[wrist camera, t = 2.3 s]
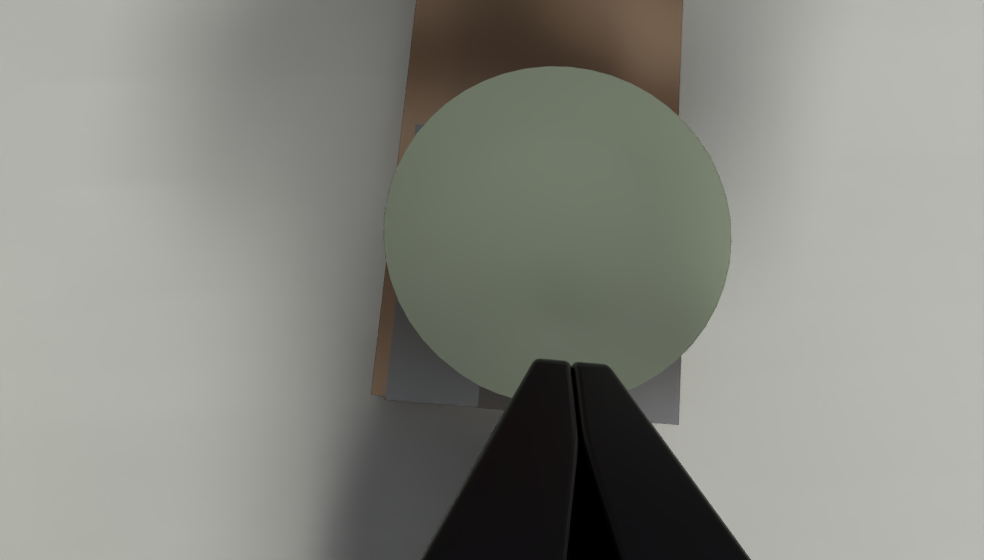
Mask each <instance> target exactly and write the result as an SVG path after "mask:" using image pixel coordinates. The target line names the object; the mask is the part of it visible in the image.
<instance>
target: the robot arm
mask: <svg viewBox="0 0 984 560" xmlns="http://www.w3.org/2000/svg"><path fill="white" fill-rule="evenodd" d="M420 560H751V559H750V558H749V556H748V555H747V554H746V552H745V551H744V550H743V548H742V547H741V545H740V544H739V543H738V541H737V540H736V539H735V537H734V536H733V534H732V533H731V532H730V530H729V529H728V528H727V526H726V525H725V523H724V522H723V521H722V519H721V518H720V517H719V515H718V514H717V513H716V511H715V510H714V508H713V507H712V506H711V504H710V503H709V502H708V500H707V499H706V497H705V496H704V495H703V493H702V492H701V491H700V489H699V488H698V486H697V485H696V484H695V482H694V481H693V480H692V478H691V477H690V476H689V474H688V473H687V471H686V470H685V469H684V467H683V466H682V465H681V463H680V462H679V460H678V459H677V458H676V456H675V455H674V454H673V452H672V451H671V449H670V448H669V447H668V445H667V444H666V443H665V441H664V440H663V438H662V437H661V436H660V434H659V433H658V432H657V430H656V429H655V428H654V426H653V425H652V423H651V422H650V421H649V419H648V418H647V417H646V415H645V414H644V412H643V411H642V410H641V408H640V407H639V406H638V404H637V403H636V401H635V400H634V399H633V397H632V396H631V395H630V393H629V392H628V391H627V389H626V388H625V386H624V385H623V384H622V382H621V381H620V380H619V378H618V377H617V375H616V374H615V373H614V371H613V370H612V369H611V368H610V367H609V366H608V365H605V364H599V363H587V362H575V363H573V365H572V366H571V365H570V364H569V362H567V361H564V360H553V359H541V358H539V359H536V360H534V361H533V362H532V364H531V365H530V367H529V369H528V371H527V373H526V374H525V376H524V378H523V380H522V381H521V383H520V385H519V387H518V388H517V390H516V392H515V394H514V395H513V397H512V399H511V401H510V402H509V404H508V406H507V408H506V409H505V411H504V413H503V415H502V416H501V418H500V420H499V422H498V424H497V425H496V427H495V429H494V431H493V432H492V434H491V436H490V438H489V439H488V441H487V443H486V445H485V446H484V448H483V450H482V452H481V453H480V455H479V457H478V459H477V460H476V462H475V464H474V466H473V468H472V469H471V471H470V473H469V475H468V476H467V478H466V480H465V482H464V483H463V485H462V487H461V489H460V490H459V492H458V494H457V496H456V497H455V499H454V501H453V503H452V504H451V506H450V508H449V510H448V511H447V513H446V515H445V517H444V519H443V520H442V522H441V524H440V526H439V527H438V529H437V531H436V533H435V534H434V536H433V538H432V540H431V541H430V543H429V545H428V547H427V548H426V550H425V552H424V554H423V555H422V557H421V559H420Z"/></svg>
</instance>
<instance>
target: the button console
mask: <svg viewBox="0 0 984 560" xmlns="http://www.w3.org/2000/svg"><path fill="white" fill-rule="evenodd" d="M682 10H683V0H416V8H415V16H414V25H413V34H412V42H411V51H410V60H409V69H408V77H407V86H406V95H405V103H404V112H403V121H402V129H401V138H400V147H399V156H398V164H397V167H398V165H399V163H400V161H401V159H402V157H403V155H404V152H405V151H406V149H407V148H408V146H409V145H410V143H411V142H412V140H413V139H414V137H415V136H416V134H417V133H418V132H419V130H420V129H421V128H422V127H423V126H424V125H425V123H426V122H427V121H428V120H429V119H430V118H431V117H432V116H433V115H434V114H435V113H436V112H437V111H438V110H440V109H441V108H442V107H443V106H444V105H445V104H446V103H448V102H449V101H450V100H452V99H453V98H455V97H456V96H458V95H459V94H461V93H462V92H464V91H465V90H467V89H469V88H471V87H473V86H475V85H477V84H479V83H481V82H483V81H485V80H488V79H490V78H493V77H496V76H499V75H501V74H504V73H508V72H513V71H517V70H521V69H526V68H536V67H546V66H555V67H574V68H581V69H588V70H593V71H597V72H600V73H604V74H608V75H612V76H614V77H617V78H619V79H622V80H624V81H627V82H629V83H631V84H633V85H635V86H637V87H639V88H641V89H642V90H644V91H646V92H648V93H650V94H651V95H653V96H654V97H655V98H657V99H658V100H660V101H661V102H662V103H664V104H665V105H667V106H668V107H669V108H670V109H671V110H672V111H673V112H674V113H676V114H677V115H678V116H679V89H680V63H681V36H682ZM680 374H681V356H680V357H679V358H678V359H677V360H676V361H675V362H674V363H673V364H671V365H670V366H669V367H667V368H666V369H665V370H663V371H662V372H661V373H660V374H658V375H657V376H655V377H653V378H652V379H650V380H648V381H646V382H645V383H643V384H641V385H639V386H638V387H635V388H633V389H630V390H628V392H629V393H630V395H631V396H632V397H633V399H634V400H635V401H636V403H637V404H638V406H639V407H640V408H641V410H642V411H643V412H644V414H645V415H646V417H647V418H648V419H649V421H650V422H651V423H662V424H673V425H679V403H680ZM371 395H380V396H385V400H395V401H407V402H418V403H430V404H442V405H453V406H465V407H476V408H488V409H500V410H505V409H506V408H507V406H508V404H509V402H510V401H511V399H512V398H510V397H507V396H504V395H500V394H497V393H495V392H493V391H490V390H488V389H486V388H484V387H481V386H479V385H477V384H476V383H474V382H473V381H471V380H469V379H468V378H466V377H464V376H463V375H461V374H460V373H458V372H457V371H456V370H455V369H453V368H452V367H451V366H450V365H449V364H447V363H446V362H445V361H444V360H442V359H441V358H440V357H439V356H438V355H437V354H436V353H435V352H434V351H433V350H432V349H431V348H430V347H429V346H428V345H427V344H426V343H425V342H424V340H423V339H422V338H421V337H420V335H419V334H418V332H417V331H416V330H415V328H414V327H413V325H412V324H411V323H410V321H409V320H408V318H407V316H406V314H405V312H404V310H403V308H402V306H401V305H400V303H399V301H398V298H397V296H396V293H395V290H394V288H393V285H392V282H391V279H390V275H389V271H388V266H387V262H386V269H385V278H384V286H383V295H382V304H381V312H380V321H379V330H378V338H377V347H376V356H375V365H374V373H373V382H372V391H371Z"/></svg>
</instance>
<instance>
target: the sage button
mask: <svg viewBox="0 0 984 560" xmlns="http://www.w3.org/2000/svg"><path fill="white" fill-rule="evenodd" d="M384 245H385V257H386V262H387V266H388V271H389V275H390V279H391V282H392V285H393V288H394V290H395V293H396V296H397V298H398V301H399V303H400V305H401V306H402V308H403V310H404V312H405V314H406V316H407V318H408V320H409V321H410V323H411V324H412V325H413V327H414V328H415V330H416V331H417V332H418V334H419V335H420V337H421V338H422V339H423V340H424V342H425V343H426V344H427V345H428V346H429V347H430V348H431V349H432V350H433V351H434V352H435V353H436V354H437V355H438V356H439V357H440V358H441V359H442V360H444V361H445V362H446V363H447V364H449V365H450V366H451V367H452V368H453V369H455V370H456V371H457V372H458V373H460V374H461V375H463V376H464V377H466V378H468V379H469V380H471V381H473V382H474V383H476V384H477V385H479V386H481V387H484V388H486V389H488V390H490V391H493V392H495V393H497V394H500V395H504V396H507V397H510V398H512V397H513V395H514V394H515V392H516V390H517V388H518V387H519V385H520V383H521V381H522V380H523V378H524V376H525V374H526V373H527V371H528V369H529V367H530V365H531V364H532V362H533V361H534V360H536V359H539V358H541V359H553V360H564V361H567V362H569V364H570V365H571V366H572V365H573V363H575V362H587V363H599V364H605V365H608V366H609V367H610V368H611V369H612V370H613V371H614V373H615V374H616V375H617V377H618V378H619V380H620V381H621V382H622V384H623V385H624V386H625V388H626V389H627V391H628V390H630V389H633V388H635V387H638V386H639V385H641V384H643V383H645V382H646V381H648V380H650V379H652V378H653V377H655V376H657V375H658V374H660V373H661V372H662V371H663V370H665V369H666V368H667V367H669V366H670V365H671V364H673V363H674V362H675V361H676V360H677V359H678V358H679V357H680V356H681V355H682V354H683V353H684V352H685V351H686V350H687V349H688V348H689V347H690V346H691V345H692V344H693V343H694V341H695V340H696V339H697V337H698V336H699V334H700V333H701V332H702V330H703V329H704V328H705V326H706V325H707V323H708V321H709V319H710V317H711V315H712V314H713V312H714V310H715V308H716V306H717V304H718V301H719V298H720V296H721V293H722V291H723V288H724V285H725V281H726V276H727V272H728V268H729V263H730V252H731V222H730V215H729V209H728V204H727V198H726V195H725V192H724V189H723V186H722V182H721V179H720V176H719V174H718V172H717V170H716V168H715V166H714V164H713V162H712V160H711V157H710V156H709V154H708V153H707V151H706V150H705V148H704V146H703V145H702V143H701V142H700V140H699V139H698V137H697V136H696V135H695V134H694V133H693V131H692V130H691V129H690V128H689V127H688V125H687V124H686V123H685V122H684V121H683V120H682V119H681V118H680V117H679V116H678V115H677V114H676V113H674V112H673V111H672V110H671V109H670V108H669V107H668V106H667V105H665V104H664V103H662V102H661V101H660V100H658V99H657V98H655V97H654V96H653V95H651V94H650V93H648V92H646V91H644V90H642V89H641V88H639V87H637V86H635V85H633V84H631V83H629V82H627V81H624V80H622V79H619V78H617V77H614V76H612V75H608V74H604V73H600V72H597V71H593V70H588V69H581V68H574V67H555V66H546V67H536V68H526V69H521V70H517V71H513V72H508V73H504V74H501V75H499V76H496V77H493V78H490V79H488V80H485V81H483V82H481V83H479V84H477V85H475V86H473V87H471V88H469V89H467V90H465V91H464V92H462V93H461V94H459V95H458V96H456V97H455V98H453V99H452V100H450V101H449V102H448V103H446V104H445V105H444V106H443V107H442V108H441V109H440V110H438V111H437V112H436V113H435V114H434V115H433V116H432V117H431V118H430V119H429V120H428V121H427V122H426V123H425V125H424V126H423V127H422V128H421V129H420V130H419V132H418V133H417V134H416V136H415V137H414V139H413V140H412V142H411V143H410V145H409V146H408V148H407V149H406V151H405V152H404V155H403V157H402V159H401V161H400V163H399V165H398V167H397V169H396V171H395V174H394V177H393V180H392V183H391V186H390V189H389V193H388V198H387V204H386V209H385V218H384Z"/></svg>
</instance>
